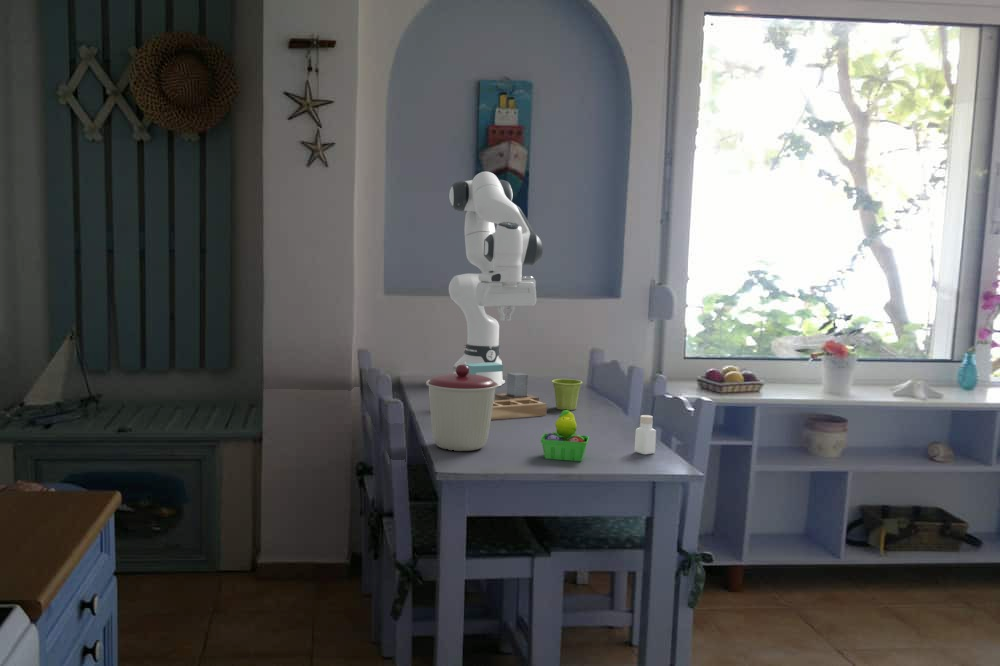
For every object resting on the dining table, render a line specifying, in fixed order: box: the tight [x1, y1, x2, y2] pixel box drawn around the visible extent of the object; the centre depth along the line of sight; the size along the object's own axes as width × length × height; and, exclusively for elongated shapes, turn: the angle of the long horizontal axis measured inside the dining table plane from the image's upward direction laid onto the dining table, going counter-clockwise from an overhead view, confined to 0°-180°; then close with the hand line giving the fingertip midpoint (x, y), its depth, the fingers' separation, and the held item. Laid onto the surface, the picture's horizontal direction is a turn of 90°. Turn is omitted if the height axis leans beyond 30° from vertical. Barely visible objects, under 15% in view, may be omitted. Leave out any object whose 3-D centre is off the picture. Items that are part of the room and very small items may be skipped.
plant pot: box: [551, 378, 583, 411], centre depth 305 cm, size 9×9×9 cm
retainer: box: [464, 363, 504, 375], centre depth 300 cm, size 13×7×12 cm, turn 121°
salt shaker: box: [634, 414, 657, 455], centre depth 249 cm, size 4×4×10 cm
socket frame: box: [494, 392, 540, 402], centre depth 304 cm, size 27×10×3 cm, turn 121°
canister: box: [425, 365, 499, 452], centre depth 247 cm, size 18×18×21 cm
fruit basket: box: [540, 409, 590, 462], centre depth 241 cm, size 11×9×11 cm
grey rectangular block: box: [506, 372, 529, 398], centre depth 308 cm, size 5×5×10 cm
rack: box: [491, 398, 548, 421], centre depth 292 cm, size 10×22×4 cm, turn 121°
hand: (505, 320), depth 302 cm, fingers closed
